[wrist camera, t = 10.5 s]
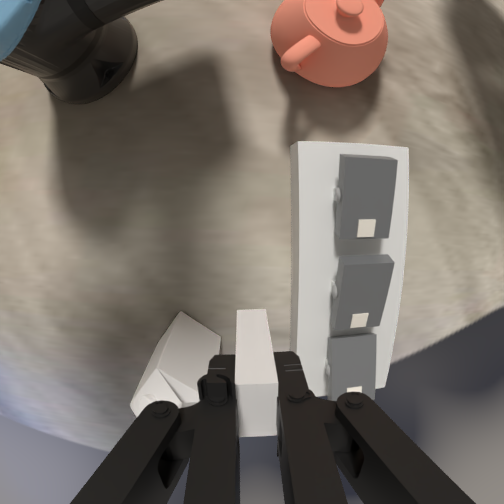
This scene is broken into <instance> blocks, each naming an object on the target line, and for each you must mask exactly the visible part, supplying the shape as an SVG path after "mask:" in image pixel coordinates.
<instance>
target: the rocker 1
mask: <svg viewBox="0 0 504 504" xmlns="http://www.w3.org/2000/svg"><path fill="white" fill-rule="evenodd" d="M397 164H398V160H396V159H394V158H392V157H386V156H371V155H353V154H340V158H339V179H338V188H336V189H335V201H336V202H337V209H336V222H335V234H336V235H337V237H338V238H339V240H344V239H387V238H389V232H390V225H391V218H392V210H393V202H394V194H395V185H396V175H397Z"/></svg>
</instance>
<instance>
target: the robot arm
mask: <svg viewBox="0 0 504 504" xmlns="http://www.w3.org/2000/svg"><path fill="white" fill-rule="evenodd" d="M160 1H163V0H0V64H3V65H6V66H9V67H12V68H15V69H18V70H21V71H23V72H26V73H29V74H32V75H34V76H37V77H39V79H40V80H41V81H42V82H43V83H44V85H45V87H46V88H47V90H48V91H49V92H50V93H51V94H52V95H53V96H54V97H56V98H58V99H60V100H62V101H65V102H68V103H72V104H84V103H89V102H92V101H95V100H97V99H99V98H101V97H103V96H105V95H106V94H108V93H109V92H110V91H112V90H113V89H114V88H115V87H116V86H117V85H118V84H119V83H120V82H121V81H122V80H123V79H124V77H125V76H126V74H127V73H128V71H129V70H130V68H131V66H132V64H133V62H134V59H135V56H136V51H137V36H136V32H135V30H134V28H133V26H132V25H131V24H130V22H129V21H128V20H127V19H126V18H125V17H124V16H126V15H128V14H130V13H133V12H135V11H137V10H140V9H142V8H145V7H147V6H150V5H152V4H155V3H157V2H160ZM197 387H198V394H199V402H198V403H196V404H194V405H192V406H188V407H183V408H178V406H177V405H176V404H175V403H173V402H170V401H164V400H160V401H155V402H152V403H150V404H148V405H147V406H146V407H145V408H144V409H143V410H142V412H141V413H140V414H139V416H138V417H137V418H136V420H135V421H134V422H133V423H132V425H131V426H130V427H129V429H128V430H127V431H126V432H125V434H124V435H123V436H122V438H121V439H120V440H119V442H118V443H117V444H116V445H115V447H114V448H113V449H112V451H111V452H110V453H109V454H108V456H107V457H106V458H105V460H104V461H103V462H102V463H101V465H100V466H99V467H98V469H97V470H96V471H95V472H94V474H93V475H92V476H91V477H90V479H89V480H88V481H87V483H86V484H85V485H84V486H83V488H82V489H81V490H80V492H79V493H78V494H77V495H76V497H75V498H74V499H73V500H72V502H71V503H70V504H167V502H168V500H169V498H170V496H171V494H172V493H173V491H174V489H175V487H176V485H177V483H178V481H179V479H180V477H181V475H182V473H183V471H184V469H185V467H186V466H187V463H188V461H189V458H190V463H189V470H188V477H187V483H186V490H185V497H184V504H240V446H239V437H253V436H272V435H277V433H278V445H277V456H279V461H280V468H281V475H282V484H283V492H284V500H285V504H348V503H347V500H346V496H345V492H344V489H343V486H342V482H341V479H340V476H339V473H338V469H337V466H338V467H339V469H340V470H341V472H342V473H343V475H344V476H345V477H346V479H347V480H348V482H349V483H350V485H351V486H352V488H353V489H354V490H355V492H356V493H357V495H358V496H359V497H360V499H361V500H362V502H363V503H364V504H476V503H475V502H474V501H473V500H472V499H470V498H469V496H467V495H466V494H465V493H464V492H463V491H462V490H461V489H460V488H459V487H458V486H457V485H456V484H455V483H454V482H453V481H452V480H451V479H450V478H449V477H448V476H447V475H446V474H445V473H444V472H443V471H442V470H441V469H440V468H439V467H438V466H437V465H436V464H435V463H434V462H433V461H432V460H431V459H430V458H429V457H428V456H427V455H426V454H425V453H424V452H423V451H422V450H421V449H420V448H419V447H418V446H417V445H416V444H415V443H414V442H413V441H412V440H411V439H410V438H409V437H408V436H407V435H406V434H405V433H404V432H403V431H402V430H401V429H400V428H399V427H398V426H397V425H396V424H395V423H394V422H393V421H392V420H391V419H390V417H389V416H388V415H387V414H385V412H384V411H383V410H382V409H381V408H380V407H379V406H378V405H377V404H376V403H375V402H374V401H373V400H372V399H371V398H370V397H369V396H367V395H366V394H364V393H361V392H353V391H352V392H346V393H344V394H342V395H340V396H339V397H338V398H337V401H331V400H324V399H320V398H318V397H316V396H315V394H314V393H313V391H311V390H310V389H309V388H308V384H307V381H306V378H305V374H304V371H303V368H302V365H301V361H300V358H299V356H298V355H297V354H296V353H294V352H293V351H287V352H273V349H272V343H271V337H270V331H269V325H268V320H267V314H266V309H247V310H237V328H236V355H214V356H213V357H212V358H211V360H210V361H209V365H208V372H207V374H206V375H203V376H202V377H201V378H199V380H198V382H197ZM336 464H337V466H336Z"/></svg>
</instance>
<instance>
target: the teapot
mask: <svg viewBox="0 0 504 504" xmlns="http://www.w3.org/2000/svg"><path fill="white" fill-rule="evenodd" d="M383 1H384V0H284V1H283V2H282V4H281V5H280V6H279V8H278V9H277V11H276V13H275V15H274V17H273V20H272V24H271V40H272V43H273V46H274V48H275V50H276V52H277V53H278V55H279V56H280V57H281V65H282V67H283V68H284V69H286V70H287V71H291V72H294V71H295V72H296V73H297V74H299V75H300V76H302V77H304V78H305V79H307V80H309V81H311V82H313V83H316V84H319V85H323V86H327V87H346V86H350V85H354V84H356V83H359V82H361V81H363V80H364V79H366V78H367V77H368V76H369V75H370V74H372V73H373V72H374V71H375V70H376V68H377V67H378V66H379V64H380V62H381V61H382V59H383V57H384V54H385V51H386V48H387V42H388V32H387V25H386V21H385V18H384V15H383V13H382V11H381V9H380V7H381V5H382V3H383Z"/></svg>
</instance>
